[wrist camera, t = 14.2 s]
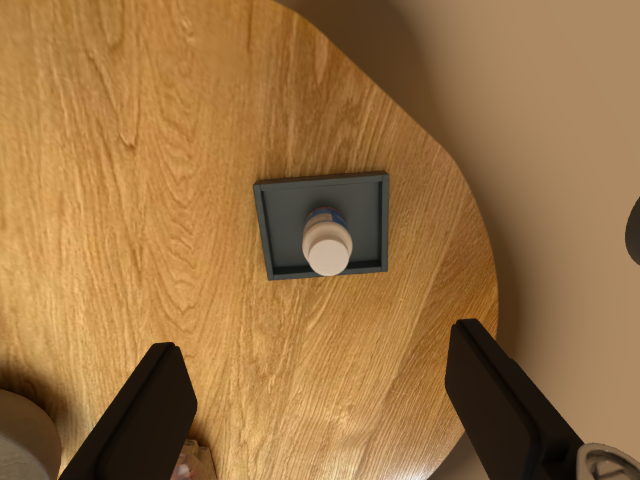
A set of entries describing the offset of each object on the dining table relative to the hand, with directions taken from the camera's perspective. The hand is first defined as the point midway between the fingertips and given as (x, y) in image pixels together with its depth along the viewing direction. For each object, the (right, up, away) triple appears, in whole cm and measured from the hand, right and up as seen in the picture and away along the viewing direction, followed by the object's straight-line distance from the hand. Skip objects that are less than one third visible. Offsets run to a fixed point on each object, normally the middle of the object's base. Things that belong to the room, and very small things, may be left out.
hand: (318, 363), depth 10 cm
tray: (+1, +6, +28) cm, 29 cm away
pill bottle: (+1, +6, +28) cm, 28 cm away
